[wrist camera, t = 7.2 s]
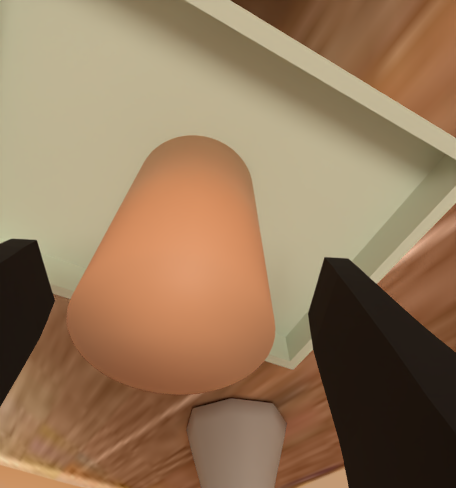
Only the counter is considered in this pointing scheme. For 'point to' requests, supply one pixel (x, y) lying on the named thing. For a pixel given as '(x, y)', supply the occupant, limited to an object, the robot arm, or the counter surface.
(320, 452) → the counter surface
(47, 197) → the tray
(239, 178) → the peg
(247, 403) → the flask
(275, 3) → the counter surface
